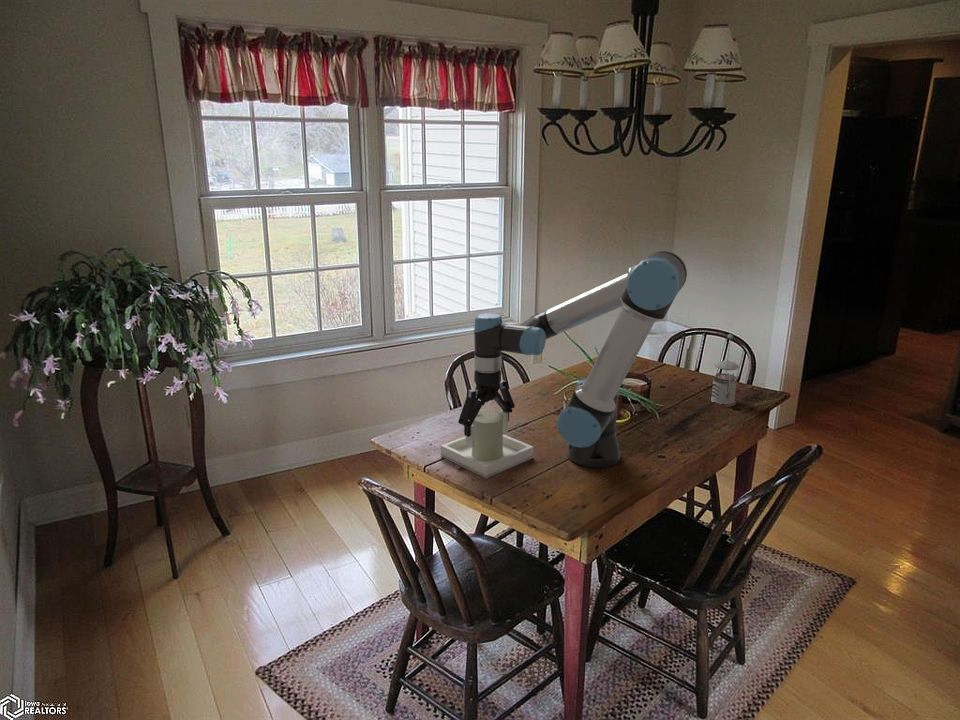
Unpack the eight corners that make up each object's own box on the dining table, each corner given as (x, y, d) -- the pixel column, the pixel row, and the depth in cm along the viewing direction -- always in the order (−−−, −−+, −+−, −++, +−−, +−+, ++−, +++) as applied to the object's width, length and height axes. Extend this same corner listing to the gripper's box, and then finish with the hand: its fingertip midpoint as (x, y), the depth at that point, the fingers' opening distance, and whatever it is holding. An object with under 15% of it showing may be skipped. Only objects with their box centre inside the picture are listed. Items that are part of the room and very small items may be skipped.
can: (480, 444, 205) (480, 407, 202) (508, 451, 201) (509, 412, 198) (465, 456, 198) (465, 418, 194) (494, 463, 193) (494, 423, 190)
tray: (533, 457, 199) (533, 446, 198) (486, 478, 187) (486, 467, 186) (487, 438, 212) (487, 427, 211) (440, 456, 200) (440, 445, 199)
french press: (731, 397, 247) (739, 330, 240) (743, 409, 236) (752, 339, 229) (704, 397, 247) (711, 330, 240) (715, 409, 236) (723, 339, 229)
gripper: (509, 357, 202) (507, 423, 209) (445, 375, 186) (445, 447, 192) (527, 362, 197) (526, 430, 203) (463, 382, 181) (464, 456, 187)
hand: (487, 439), depth 198 cm, fingers open, 13 cm apart
